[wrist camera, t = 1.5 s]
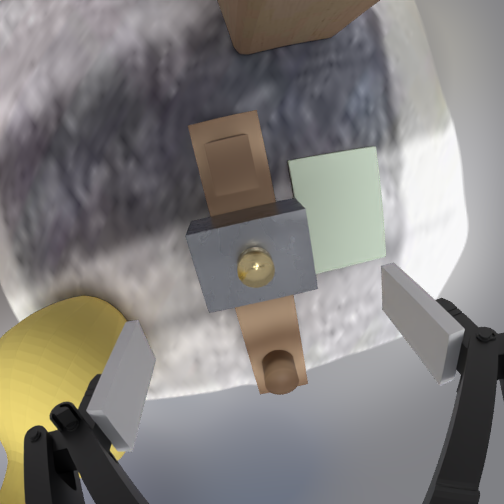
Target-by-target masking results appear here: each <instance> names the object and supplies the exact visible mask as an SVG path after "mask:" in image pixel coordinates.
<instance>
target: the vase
mask: <svg viewBox="0 0 504 504" xmlns="http://www.w3.org/2000/svg"><path fill="white" fill-rule="evenodd" d="M126 322H128V321H127V320H126V319H125V318H124V316H123V315H122V314H121V313H120V311H118V310H117V309H116V308H115V307H113V306H112V305H111V304H110V303H108V302H106V301H103V300H101V299H99V298H97V297H91V296H85V295H83V296H78V297H72V298H69V299H66V300H62V301H60V302H57V303H54V304H52V305H49V306H47V307H45V308H43V309H41V310H39V311H37V312H35V313H33V314H31V315H30V316H28V317H27V318H25V319H24V320H22V321H21V322H19V323H18V324H17V325H16V326H14V327H13V328H11V329H10V330H9V331H7V332H6V333H5V334H4V335H3V336H2V337H1V338H0V441H1V443H2V445H3V446H4V448H5V451H6V453H7V458H8V465H7V471H6V474H5V478H4V481H3V485H2V487H1V490H0V504H25V493H24V437H25V434H26V433H27V431H28V430H29V429H30V428H32V427H34V426H37V425H41V426H43V427H44V428H45V429H46V430H47V431H48V432H51V431H55V430H58V429H57V428H56V427H55V425H54V424H53V423H52V422H51V420H50V416H49V415H50V413H51V411H52V409H53V408H54V407H55V406H56V405H58V404H60V403H62V402H72V403H73V404H74V405H75V407H76V408H77V409H78V408H79V405H80V403H81V401H82V399H83V396H84V394H85V392H86V390H87V387H88V385H89V383H90V381H91V380H92V379H93V378H94V377H95V376H96V375H97V374H102V372H103V370H104V368H105V366H106V363H107V361H108V359H109V357H110V355H111V352H112V350H113V348H114V346H115V344H116V342H117V339H118V337H119V335H120V333H121V331H122V329H123V327H124V325H125V323H126ZM110 452H111V453H112V454H113V455H114V457H115V458H116V460H117V461H118V460H119V459H120V458H121V457H122V456H123V455H124V453H125V452H120V451H117V450H116V449H115V447H114V446H113V445H112V444H111V448H110ZM79 477H80V478H81V476H80V474H79Z"/></svg>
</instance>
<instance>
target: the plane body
mask: <svg viewBox="0 0 504 504" xmlns="http://www.w3.org/2000/svg"><path fill="white" fill-rule="evenodd" d="M188 128H189V132H190V136H191V141H192V145H193V149H194V153H195V157H196V161H197V165H198V169H199V173H200V177H201V181H202V185H203V189H204V193H205V197H206V201H207V205H208V209H209V213H210V217H211V216H215V215H220V214H224V213H228V212H233V211H237V210H242V209H246V208H250V207H255V206H260V205H264V204H269V203H273V202H276V200H275V195H274V190H273V185H272V180H271V175H270V171H269V166H268V161H267V156H266V151H265V147H264V142H263V137H262V133H261V128H260V123H259V119H258V114H257V110H254V111H249V112H244V113H239V114H235V115H230V116H226V117H221V118H217V119H213V120H209V121H204V122H200V123H196V124H193V125H189V126H188ZM235 310H236V313H237V317H238V320H239V324H240V327H241V331H242V334H243V338H244V341H245V345H246V348H247V351H248V355H249V358H250V362H251V365H252V369H253V372H254V375H255V379H256V382H257V385H258V389H259V392H260V394H264V393H269V392H271V393H273V394H279V395H281V394H287V393H289V392H291V391H293V390H294V389H295V388H296V387H297V386H301V385H305V384H308V381H307V375H306V368H305V362H304V356H303V350H302V344H301V337H300V331H299V326H298V320H297V314H296V308H295V302H294V296H293V295H290V296H285V297H281V298H276V299H272V300H268V301H263V302H258V303H254V304H249V305H245V306H240V307H235Z"/></svg>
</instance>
